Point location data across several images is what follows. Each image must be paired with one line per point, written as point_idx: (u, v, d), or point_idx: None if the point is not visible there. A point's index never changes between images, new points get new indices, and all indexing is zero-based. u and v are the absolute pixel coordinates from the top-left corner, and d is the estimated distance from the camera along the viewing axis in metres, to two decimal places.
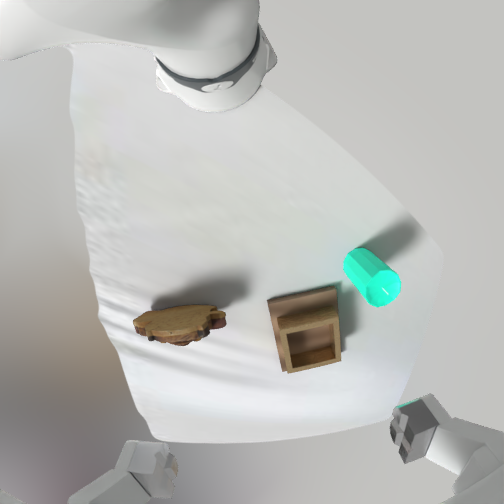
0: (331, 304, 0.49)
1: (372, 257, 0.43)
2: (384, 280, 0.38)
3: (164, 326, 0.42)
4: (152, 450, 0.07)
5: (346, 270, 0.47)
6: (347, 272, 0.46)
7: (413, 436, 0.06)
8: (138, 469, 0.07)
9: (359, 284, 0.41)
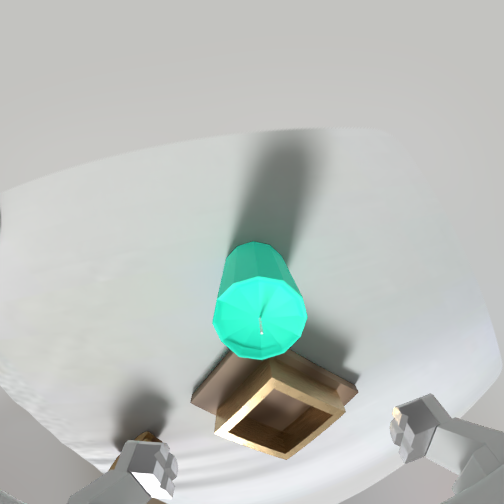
0: None
1: (232, 263, 0.23)
2: (248, 304, 0.18)
3: None
4: (152, 450, 0.07)
5: None
6: None
7: (413, 436, 0.06)
8: (138, 469, 0.07)
9: None
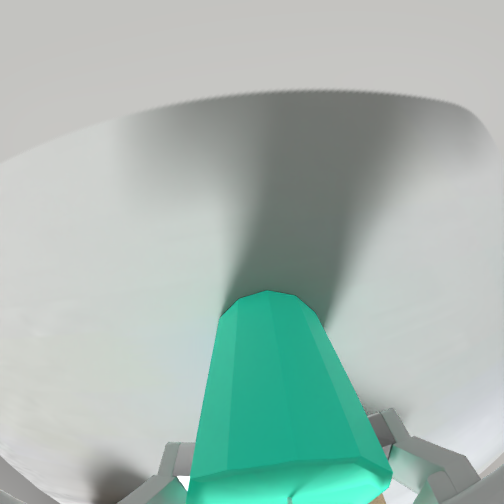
0: None
1: (227, 354, 0.10)
2: (264, 485, 0.06)
3: None
4: None
5: None
6: None
7: None
8: (185, 472, 0.07)
9: None
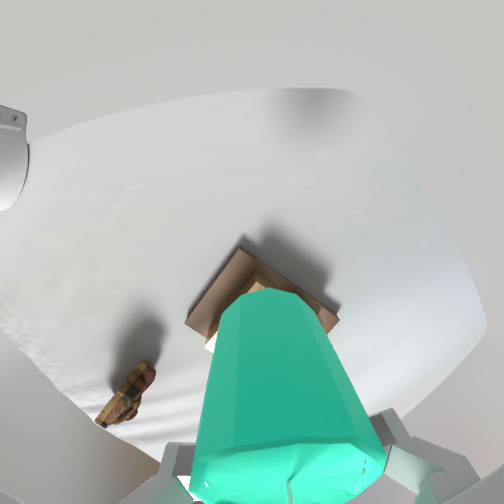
0: (253, 271, 0.34)
1: (231, 344, 0.11)
2: (265, 466, 0.06)
3: None
4: None
5: None
6: None
7: None
8: (185, 472, 0.07)
9: None
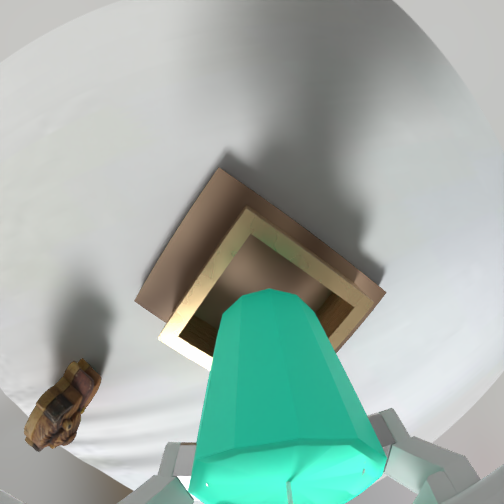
0: (243, 204, 0.20)
1: (231, 345, 0.11)
2: (266, 467, 0.06)
3: None
4: None
5: None
6: None
7: None
8: (185, 472, 0.07)
9: None
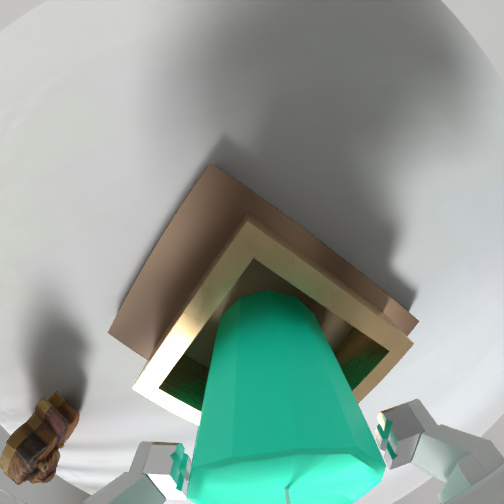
0: (244, 213, 0.15)
1: (230, 349, 0.11)
2: (264, 474, 0.06)
3: None
4: (168, 451, 0.07)
5: None
6: None
7: (396, 442, 0.06)
8: (154, 471, 0.07)
9: None
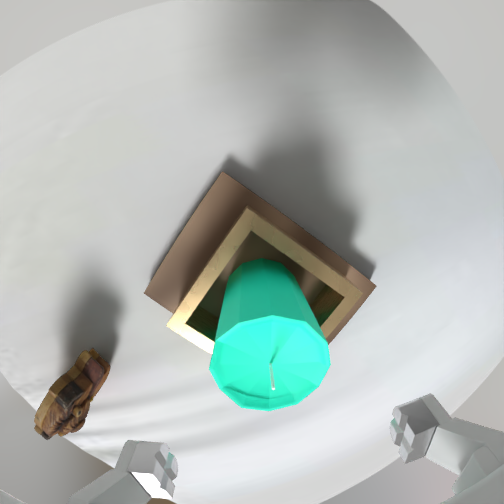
0: (244, 205, 0.22)
1: (236, 287, 0.18)
2: (256, 347, 0.13)
3: None
4: (152, 450, 0.07)
5: None
6: None
7: (413, 436, 0.06)
8: (138, 469, 0.07)
9: None
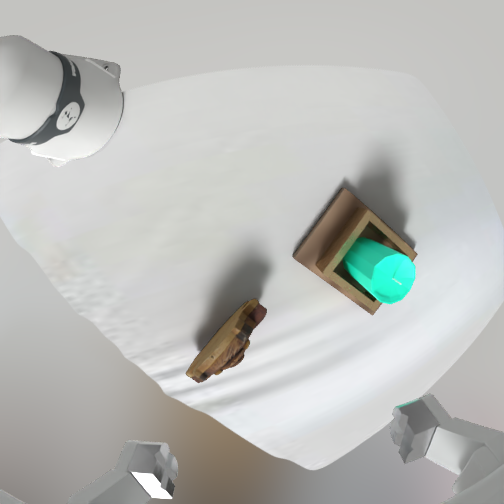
0: (355, 207, 0.38)
1: (364, 249, 0.34)
2: (388, 270, 0.30)
3: (206, 356, 0.35)
4: (152, 450, 0.07)
5: (352, 276, 0.38)
6: (354, 277, 0.38)
7: (413, 436, 0.06)
8: (138, 469, 0.07)
9: (368, 290, 0.32)
